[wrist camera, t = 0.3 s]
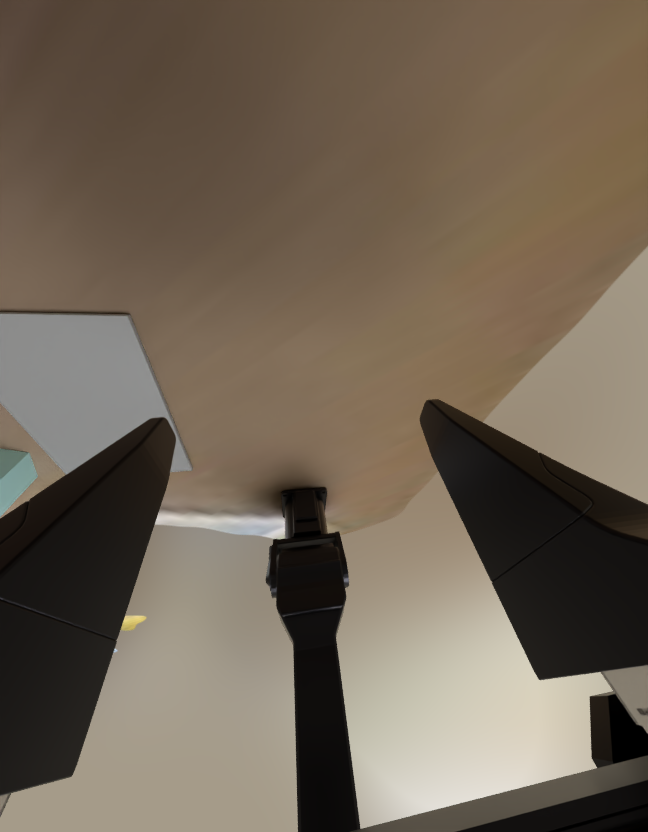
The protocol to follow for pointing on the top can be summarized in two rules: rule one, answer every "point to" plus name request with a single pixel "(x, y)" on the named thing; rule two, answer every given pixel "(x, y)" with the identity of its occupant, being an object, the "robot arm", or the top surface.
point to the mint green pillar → (14, 476)
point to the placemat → (79, 383)
